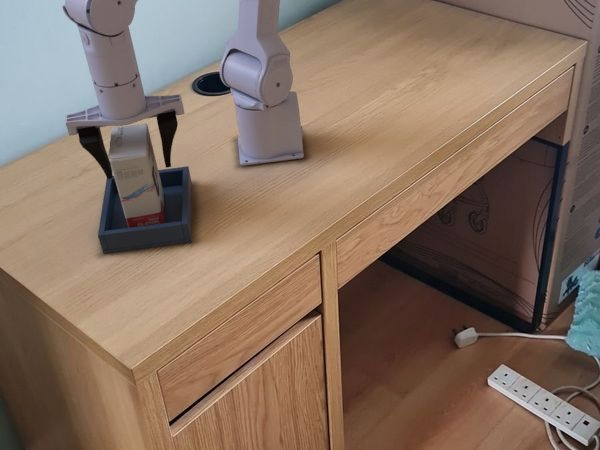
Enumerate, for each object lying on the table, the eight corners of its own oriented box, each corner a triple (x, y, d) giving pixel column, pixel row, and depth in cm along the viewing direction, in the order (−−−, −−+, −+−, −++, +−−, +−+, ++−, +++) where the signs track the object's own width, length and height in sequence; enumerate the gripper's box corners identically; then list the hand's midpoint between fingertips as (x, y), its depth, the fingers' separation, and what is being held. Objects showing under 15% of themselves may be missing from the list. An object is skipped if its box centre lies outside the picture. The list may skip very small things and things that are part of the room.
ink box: (165, 229, 105) (147, 155, 97) (128, 235, 104) (108, 161, 97) (164, 193, 111) (148, 120, 104) (130, 198, 111) (111, 126, 104)
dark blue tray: (191, 183, 114) (188, 166, 112) (191, 242, 103) (187, 223, 101) (111, 194, 113) (106, 176, 112) (103, 253, 103) (97, 235, 101)
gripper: (171, 52, 100) (189, 143, 108) (55, 72, 98) (83, 163, 106) (177, 76, 94) (196, 170, 103) (55, 98, 92) (84, 192, 101)
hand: (139, 169), depth 104 cm, fingers open, 7 cm apart
